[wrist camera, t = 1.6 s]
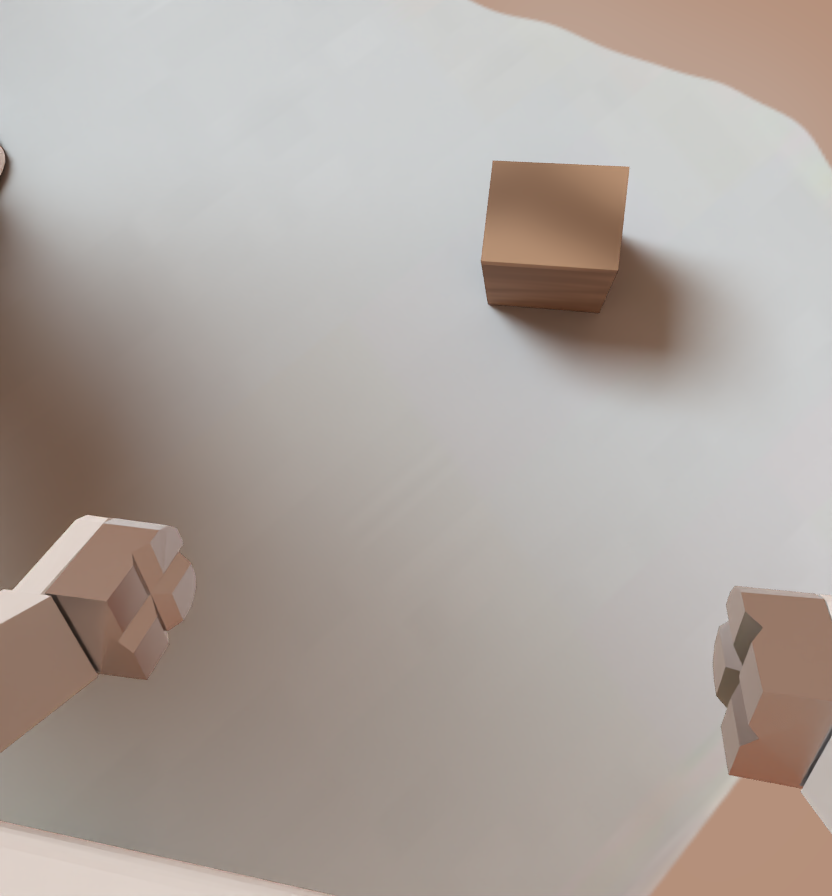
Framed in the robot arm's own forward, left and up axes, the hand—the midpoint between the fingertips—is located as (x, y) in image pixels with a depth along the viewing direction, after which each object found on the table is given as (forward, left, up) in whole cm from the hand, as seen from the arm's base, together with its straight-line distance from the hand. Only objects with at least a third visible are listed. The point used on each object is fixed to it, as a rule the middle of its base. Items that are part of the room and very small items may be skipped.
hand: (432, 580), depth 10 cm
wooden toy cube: (-11, +9, -28) cm, 31 cm away
